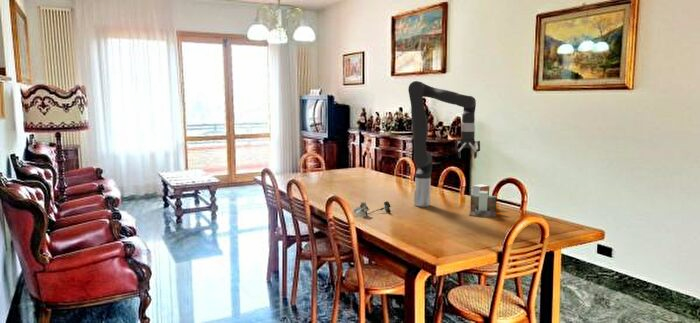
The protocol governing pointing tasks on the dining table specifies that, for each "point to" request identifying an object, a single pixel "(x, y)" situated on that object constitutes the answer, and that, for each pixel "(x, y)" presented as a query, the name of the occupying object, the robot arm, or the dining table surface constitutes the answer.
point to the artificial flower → (364, 209)
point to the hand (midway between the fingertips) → (467, 158)
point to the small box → (480, 189)
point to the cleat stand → (490, 207)
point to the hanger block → (483, 200)
